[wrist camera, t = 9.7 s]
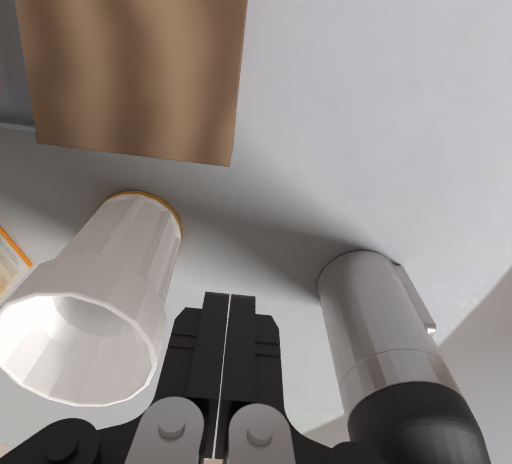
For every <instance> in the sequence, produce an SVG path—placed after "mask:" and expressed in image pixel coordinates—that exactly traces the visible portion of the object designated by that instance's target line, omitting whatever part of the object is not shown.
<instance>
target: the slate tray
mask: <svg viewBox="0 0 512 464" xmlns="http://www.w3.org/2000/svg"><path fill="white" fill-rule="evenodd" d="M0 83H1V88H0V128H3V129H11V130H19V131H27V132H35V133H36V131H35V125H34V119H33V112H32V106H31V100H30V94H29V87H28V81H27V75H26V69H25V62H24V56H23V50H22V44H21V38H20V31H19V25H18V19H17V13H16V6H15V0H0Z"/></svg>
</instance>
